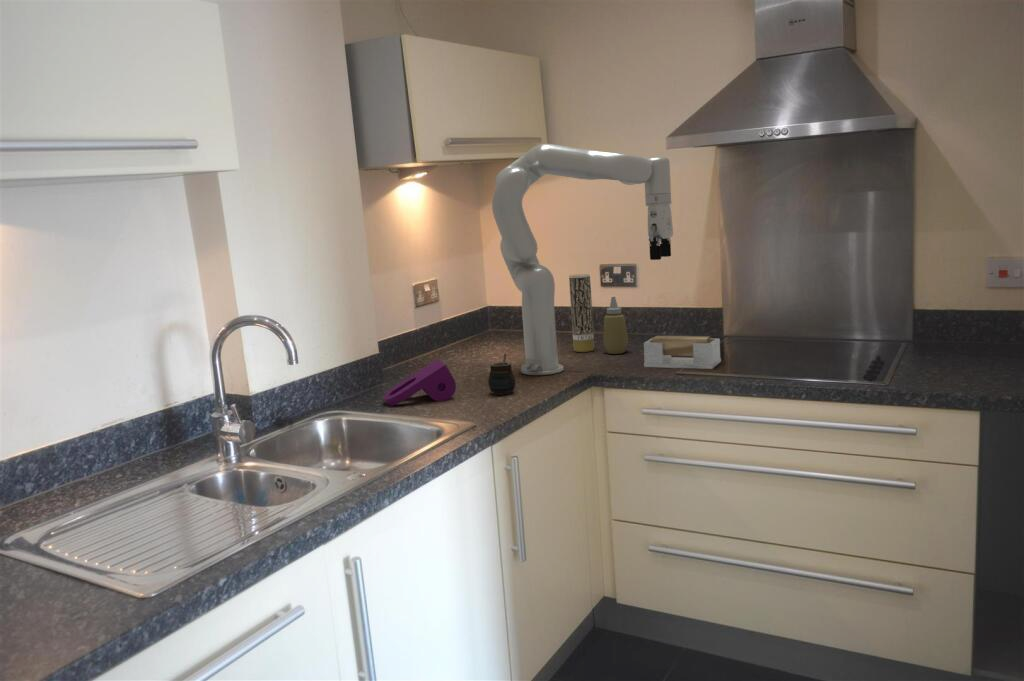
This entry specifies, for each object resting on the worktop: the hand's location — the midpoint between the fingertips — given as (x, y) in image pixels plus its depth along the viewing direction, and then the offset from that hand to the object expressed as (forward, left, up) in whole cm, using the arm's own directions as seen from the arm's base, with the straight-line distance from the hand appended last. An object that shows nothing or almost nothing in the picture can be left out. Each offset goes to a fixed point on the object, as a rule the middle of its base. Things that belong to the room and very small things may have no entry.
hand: (660, 258), depth 252 cm
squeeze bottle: (+6, +18, -31) cm, 36 cm away
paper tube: (+8, +30, -31) cm, 44 cm away
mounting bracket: (-62, +48, -31) cm, 85 cm away
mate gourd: (-51, +29, -31) cm, 66 cm away
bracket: (-9, -8, -30) cm, 33 cm away
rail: (-9, -8, -27) cm, 30 cm away
